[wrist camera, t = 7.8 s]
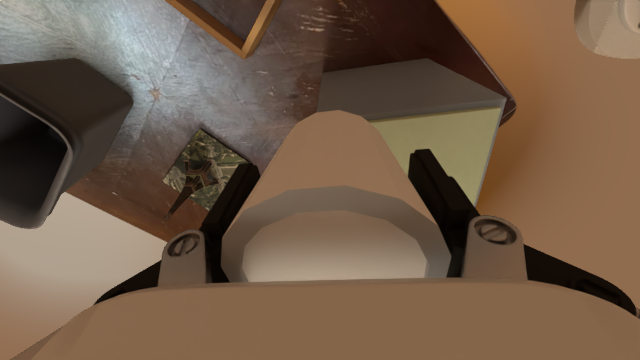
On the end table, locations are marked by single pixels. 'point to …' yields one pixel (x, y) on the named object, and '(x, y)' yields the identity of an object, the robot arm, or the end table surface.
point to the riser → (404, 92)
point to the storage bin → (52, 133)
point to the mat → (445, 141)
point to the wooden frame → (223, 34)
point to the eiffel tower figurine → (202, 171)
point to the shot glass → (333, 211)
